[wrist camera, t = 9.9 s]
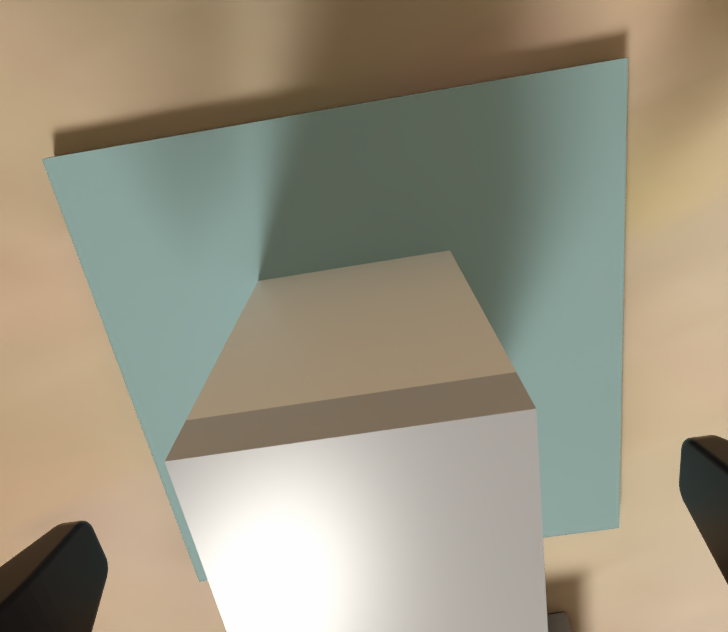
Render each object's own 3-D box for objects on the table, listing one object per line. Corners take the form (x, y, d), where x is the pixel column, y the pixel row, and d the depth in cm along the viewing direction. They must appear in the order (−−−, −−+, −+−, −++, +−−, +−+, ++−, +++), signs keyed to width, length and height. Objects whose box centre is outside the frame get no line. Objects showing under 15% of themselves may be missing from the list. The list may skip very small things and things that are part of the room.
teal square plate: (203, 569, 15) (199, 581, 15) (53, 156, 11) (42, 159, 11) (612, 516, 15) (619, 528, 14) (618, 58, 10) (627, 57, 10)
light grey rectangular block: (306, 474, 13) (268, 747, 8) (258, 280, 12) (163, 462, 6) (471, 451, 13) (552, 715, 8) (449, 250, 11) (536, 408, 6)
